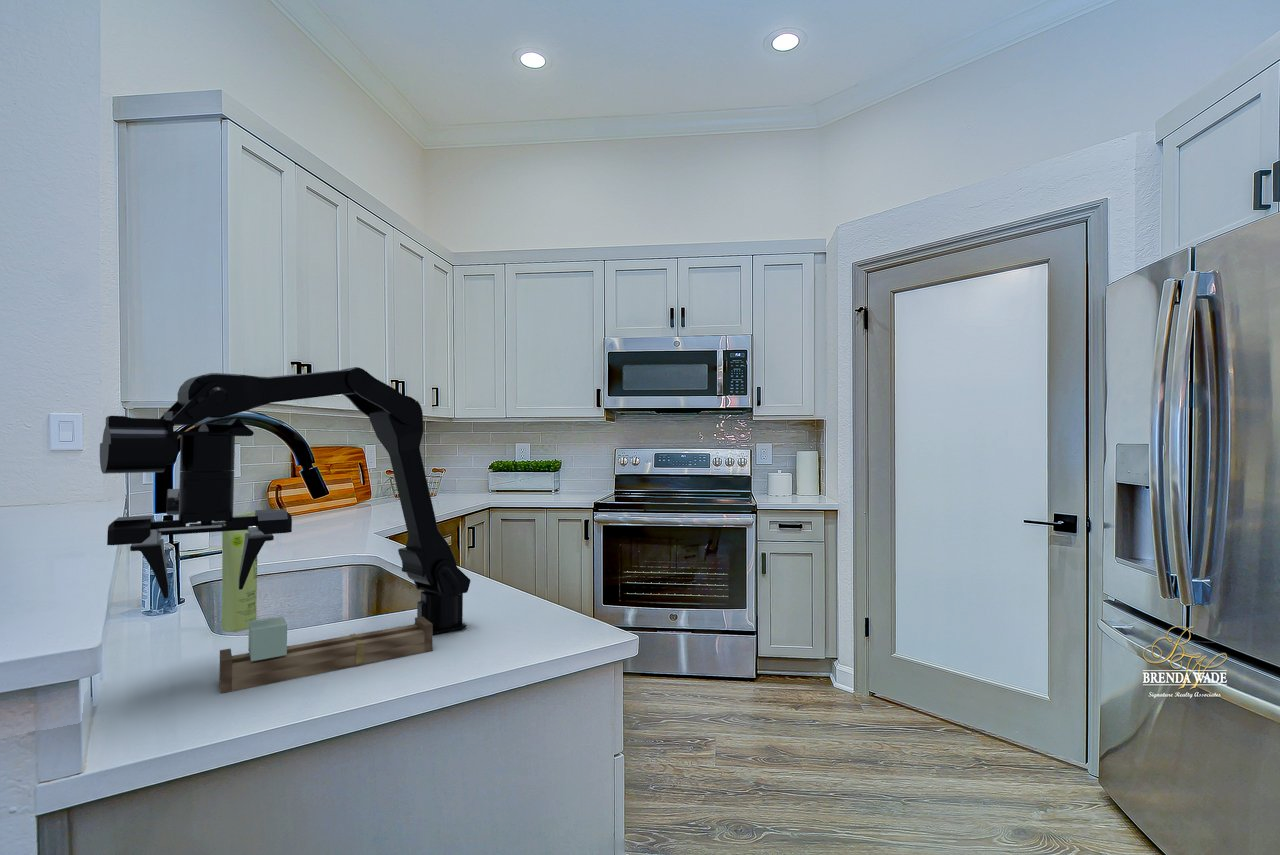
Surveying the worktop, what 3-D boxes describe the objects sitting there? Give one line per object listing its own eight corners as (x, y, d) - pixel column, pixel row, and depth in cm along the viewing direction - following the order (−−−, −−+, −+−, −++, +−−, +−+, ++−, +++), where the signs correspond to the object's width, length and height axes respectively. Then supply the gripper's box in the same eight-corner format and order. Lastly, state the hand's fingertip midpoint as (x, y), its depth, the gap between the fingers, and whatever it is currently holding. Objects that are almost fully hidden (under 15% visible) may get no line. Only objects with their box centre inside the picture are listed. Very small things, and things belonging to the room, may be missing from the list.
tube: (256, 630, 101) (258, 513, 102) (220, 635, 98) (222, 515, 99) (256, 622, 106) (258, 510, 106) (221, 626, 103) (223, 512, 104)
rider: (282, 656, 84) (282, 616, 84) (286, 667, 80) (287, 624, 80) (248, 662, 82) (248, 621, 82) (250, 673, 78) (251, 630, 78)
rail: (422, 641, 96) (422, 616, 96) (432, 650, 91) (432, 624, 91) (219, 680, 80) (219, 649, 80) (220, 693, 76) (220, 661, 76)
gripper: (284, 467, 90) (281, 573, 89) (119, 470, 79) (115, 591, 78) (293, 470, 81) (291, 588, 80) (108, 474, 70) (104, 610, 69)
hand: (204, 593), depth 77 cm, fingers open, 7 cm apart
